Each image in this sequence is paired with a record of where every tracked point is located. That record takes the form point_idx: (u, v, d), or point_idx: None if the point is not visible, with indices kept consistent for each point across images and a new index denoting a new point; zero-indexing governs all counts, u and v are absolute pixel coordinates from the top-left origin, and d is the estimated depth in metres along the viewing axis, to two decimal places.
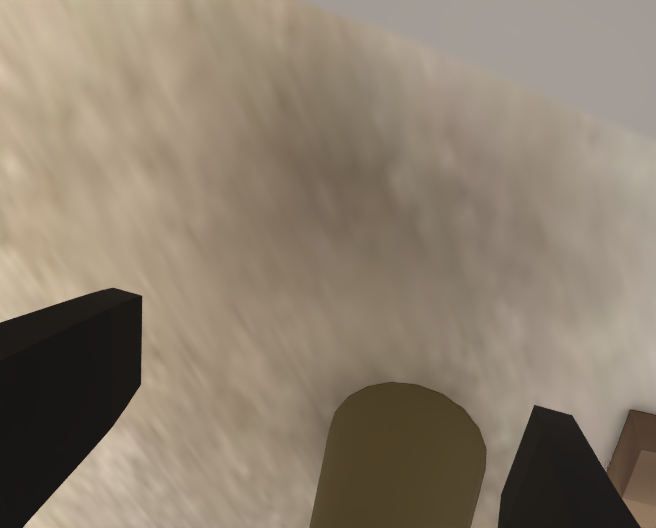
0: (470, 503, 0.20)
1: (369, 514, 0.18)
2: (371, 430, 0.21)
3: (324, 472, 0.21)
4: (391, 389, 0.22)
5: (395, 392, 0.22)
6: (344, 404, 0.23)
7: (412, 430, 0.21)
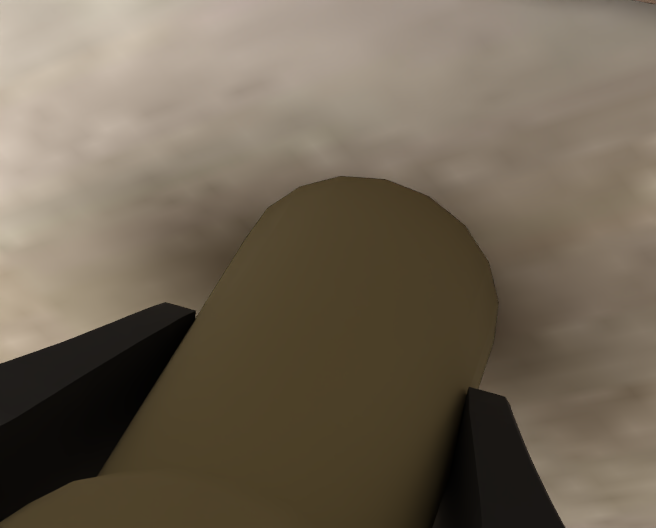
0: (296, 243, 0.11)
1: None
2: None
3: None
4: None
5: None
6: None
7: None
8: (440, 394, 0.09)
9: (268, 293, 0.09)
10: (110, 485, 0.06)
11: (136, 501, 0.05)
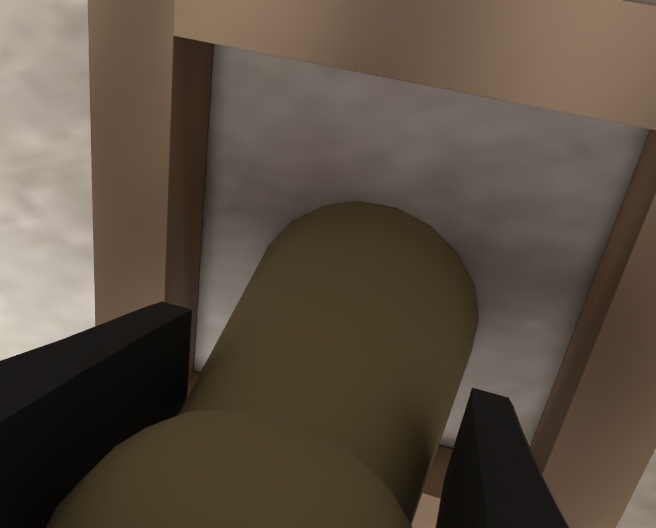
0: (328, 253, 0.13)
1: None
2: None
3: None
4: None
5: None
6: None
7: None
8: (438, 382, 0.12)
9: (310, 291, 0.12)
10: (224, 413, 0.08)
11: (249, 423, 0.08)
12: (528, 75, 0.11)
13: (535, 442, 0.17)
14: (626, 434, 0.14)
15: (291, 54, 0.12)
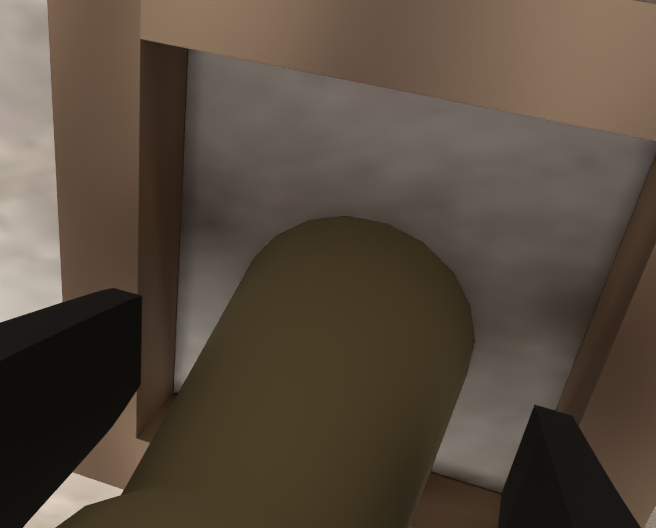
0: (306, 282, 0.12)
1: None
2: None
3: None
4: None
5: None
6: None
7: None
8: (420, 429, 0.11)
9: (282, 330, 0.11)
10: (163, 501, 0.07)
11: (186, 519, 0.07)
12: (527, 82, 0.10)
13: None
14: (634, 470, 0.13)
15: (267, 59, 0.11)
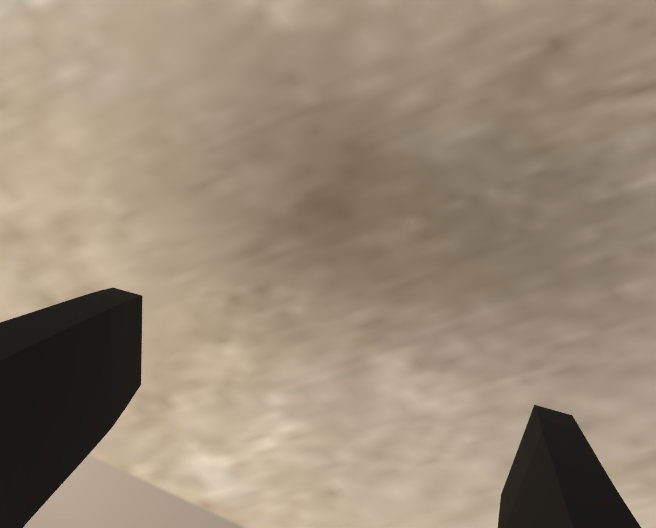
0: None
1: None
2: None
3: None
4: None
5: None
6: None
7: None
8: None
9: None
10: None
11: None
12: None
13: None
14: None
15: None
